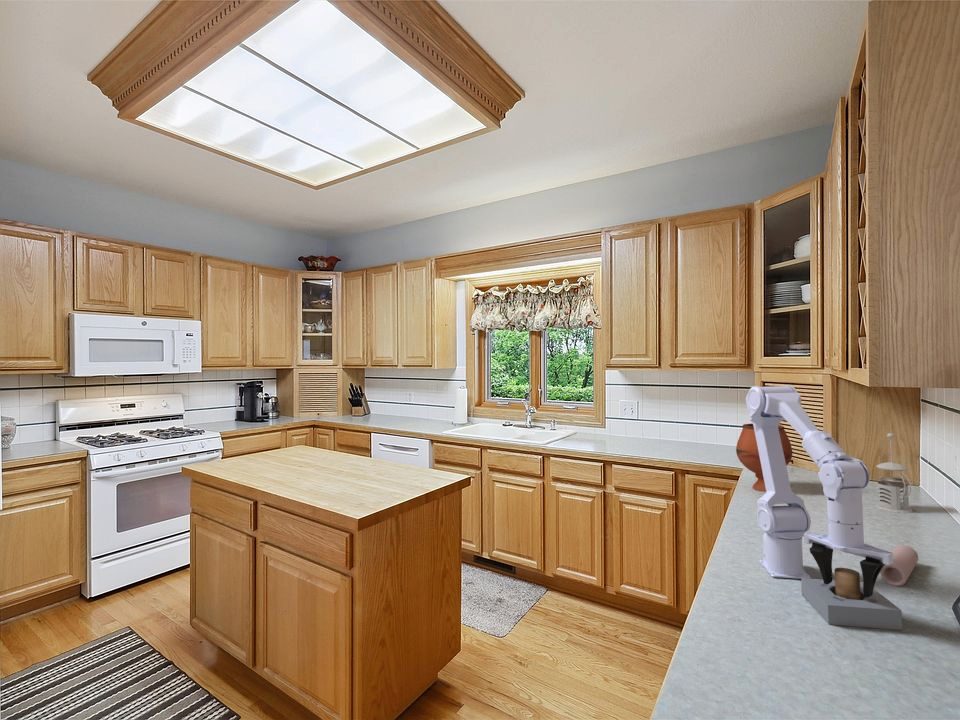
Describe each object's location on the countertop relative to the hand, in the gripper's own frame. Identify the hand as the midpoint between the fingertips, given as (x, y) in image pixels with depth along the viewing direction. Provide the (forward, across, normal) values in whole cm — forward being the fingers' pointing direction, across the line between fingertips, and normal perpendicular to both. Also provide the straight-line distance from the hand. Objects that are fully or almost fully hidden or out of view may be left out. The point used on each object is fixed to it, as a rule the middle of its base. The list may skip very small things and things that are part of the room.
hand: (847, 588), depth 97 cm
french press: (+5, -20, +88) cm, 90 cm away
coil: (+5, -1, +29) cm, 30 cm away
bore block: (+4, 0, 0) cm, 4 cm away
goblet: (+5, -58, +82) cm, 100 cm away
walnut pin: (+4, 0, 0) cm, 4 cm away
